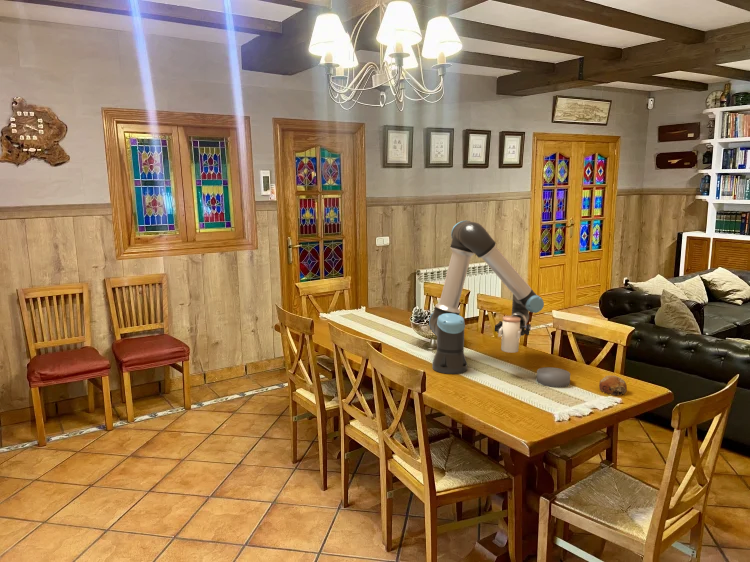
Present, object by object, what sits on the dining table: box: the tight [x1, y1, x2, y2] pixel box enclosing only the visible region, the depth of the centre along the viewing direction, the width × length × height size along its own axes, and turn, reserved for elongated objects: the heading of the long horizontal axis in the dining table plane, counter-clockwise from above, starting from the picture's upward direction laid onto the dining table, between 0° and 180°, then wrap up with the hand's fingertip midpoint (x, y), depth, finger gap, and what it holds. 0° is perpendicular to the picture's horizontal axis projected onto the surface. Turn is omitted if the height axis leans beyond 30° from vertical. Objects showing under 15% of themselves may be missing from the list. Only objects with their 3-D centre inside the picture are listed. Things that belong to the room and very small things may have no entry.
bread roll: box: [598, 375, 628, 396], centre depth 215 cm, size 10×10×8 cm
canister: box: [500, 315, 521, 354], centre depth 231 cm, size 7×7×14 cm
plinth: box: [536, 366, 571, 388], centre depth 225 cm, size 13×13×4 cm
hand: (508, 334), depth 226 cm, fingers closed on canister, 7 cm apart
